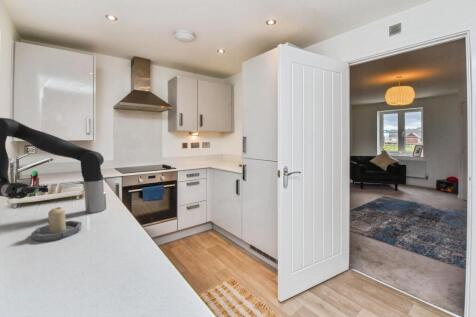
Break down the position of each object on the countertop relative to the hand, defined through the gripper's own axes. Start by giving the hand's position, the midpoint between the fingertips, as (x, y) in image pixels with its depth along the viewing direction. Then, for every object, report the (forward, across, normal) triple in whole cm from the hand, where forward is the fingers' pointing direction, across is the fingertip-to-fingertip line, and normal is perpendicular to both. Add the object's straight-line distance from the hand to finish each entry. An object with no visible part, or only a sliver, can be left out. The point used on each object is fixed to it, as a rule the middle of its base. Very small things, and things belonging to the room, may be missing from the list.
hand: (36, 192), depth 107 cm
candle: (+17, -3, +16) cm, 23 cm away
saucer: (+17, -3, +16) cm, 24 cm away
